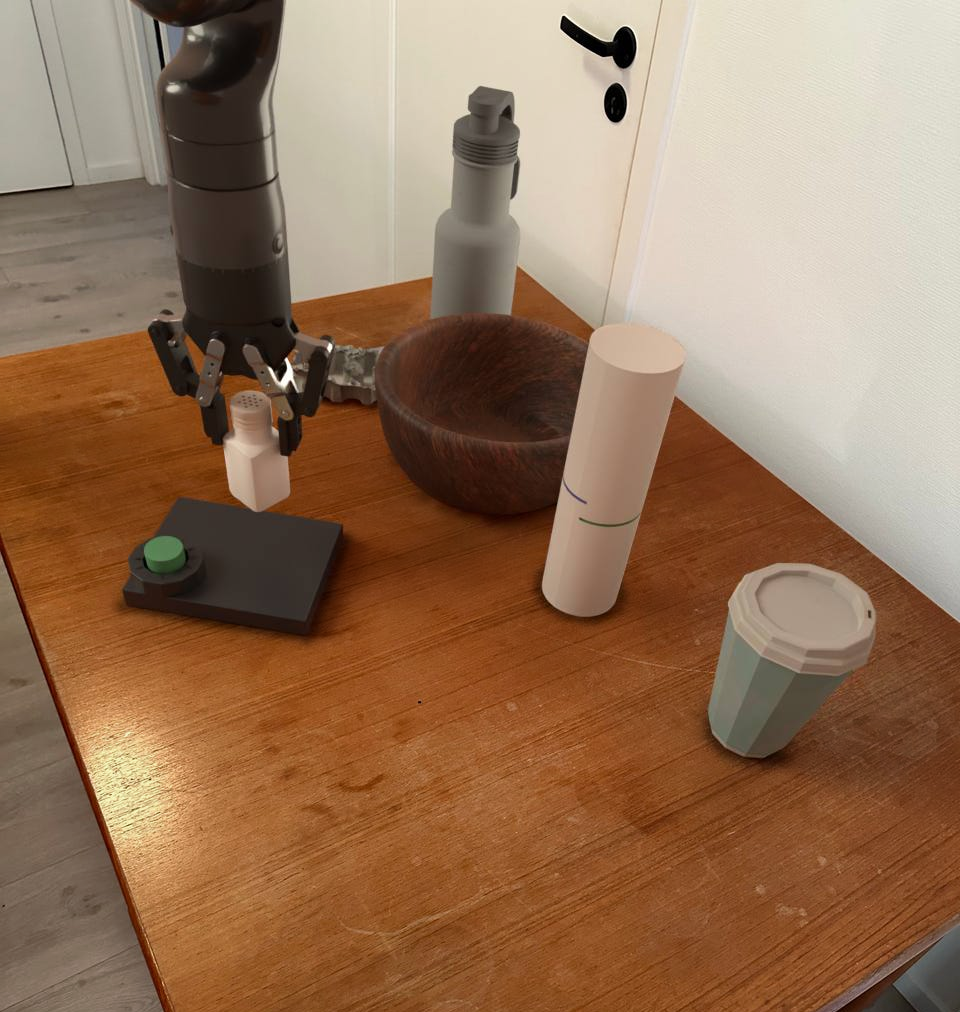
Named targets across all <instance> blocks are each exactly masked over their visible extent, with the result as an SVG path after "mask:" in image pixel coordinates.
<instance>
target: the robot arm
mask: <svg viewBox="0 0 960 1012" xmlns="http://www.w3.org/2000/svg"><path fill="white" fill-rule="evenodd" d="M129 2H131V3H132V4H133V5H134V6H135V7H136V8H138V9H139V10H141V12H143V13H145V14H146V15H148V17H151V18H152V19H153V20H156V21H158V22H160V23H161V24H165V25H167V26H170V27H174V28H182V38H181V43H180V45H179V47H178V50H177V51H176V53H175V54H174V56H173V57H172V59H171V60H169V61H168V63H167V64H166V65H165V66H164V67H163V68H162V70H161V71H160V73H159V75H158V76H157V79H156V87H155V97H156V108H157V116H158V123H159V129H160V136H161V142H162V148H163V155H164V161H165V167H166V174H167V201H168V210H169V217H170V220H169V226H170V227H169V228H170V233H171V235H172V237H173V242H174V250H175V255H176V261H177V262H176V263H177V268H178V274H179V280H180V286H181V292H182V298H183V303H184V305H185V311H184V313H181V314H175V313H174V312H173V311H172V310H170V309H166V308H165V309H162V310H161V311H159V313H158V314H157V315H156V316H155V318H154V319H153V320H152V322H151V323H150V324H149V325H148V327H147V333H148V336H149V338H150V340H151V343H152V345H153V348H154V350H155V352H156V355H157V357H158V359H159V362H160V364H161V367H162V370H163V372H164V374H165V377H166V378H167V380H168V383H169V386H170V388H171V391H172V392H173V393H174V395H176V396H177V397H180V398H181V397H182V398H183V397H186V396H188V397H191V398H192V399H194V400H195V402H196V403H197V404H198V405H199V408H200V409H199V410H200V414H201V419H202V426H203V432H204V434H205V436H206V437H207V438H210V441H211V444H212V445H214V446H221V447H222V446H223V437H224V435H225V434H226V433H227V432H229V431H230V424H229V418H228V417H229V416H228V410H227V403H226V396H225V395H226V394H225V393H221V388H222V385H223V382H224V379H225V376H229V377H234V376H235V377H236V376H242V377H245V378H248V379H251V380H254V381H258V382H259V386H260V387H261V389H262V391H263V393H264V394H265V395H266V396H267V397H269V398H270V400H271V403H272V404H273V406H274V408H275V410H276V412H277V414H278V416H277V430H278V433H279V444H280V454H281V456H287V457H288V458H290V457H292V455H293V452H297V450H298V448H299V446H300V444H301V442H302V440H303V422H302V421H303V420H302V416H304V417H307V418H313V417H315V415H316V414H317V411H318V409H319V407H320V405H321V403H322V402H323V399H324V397H325V396H324V393H325V389H326V384H327V380H328V375H329V371H330V366H331V362H332V358H333V353H334V349H335V345H336V340H335V339H334V337H333V336H331V335H329V334H323V335H322V336H320V338H319V339H318V338H316V337H315V336H311V335H308V334H306V333H303V332H300V328H299V326H298V324H297V323H296V321H295V319H294V317H293V312H292V290H291V277H290V275H291V274H290V263H289V248H288V231H287V230H288V229H287V218H286V217H287V216H286V206H285V199H284V195H283V190H282V185H281V180H280V172H279V162H278V161H279V160H278V147H277V135H276V133H277V132H276V117H275V110H274V109H275V108H274V92H275V87H276V86H275V85H276V79H277V74H278V69H279V64H280V57H281V50H282V49H281V48H282V40H283V31H284V23H285V16H286V15H285V14H286V13H285V12H286V5H287V0H129ZM187 336H188V337H189V339H190V340H191V341H192V342H193V343H194V344H195V346H196V347H197V348H198V349H199V351H200V352H201V353H202V354H203V356H204V357H205V358H204V361H203V364H202V368H201V371H200V374H199V373H198V370H197V368H196V366H195V363H194V360H193V358H192V355H191V353H190V351H189V347H188V345H187V341H186V339H187ZM293 350H297V351H298V352H299V353H300V355H301V361H302V364H303V367H304V368H306V369H308V374H307V379H306V384H305V389H304V392H299V390H298V387H297V385H296V383H295V381H294V378H293V369H292V367H291V365H292V364H291V362H290V361H289V359H288V356H289V355H291V353H292V352H293Z"/></svg>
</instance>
